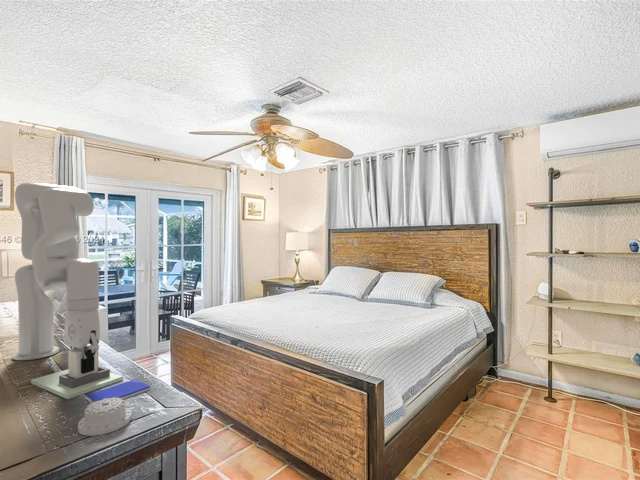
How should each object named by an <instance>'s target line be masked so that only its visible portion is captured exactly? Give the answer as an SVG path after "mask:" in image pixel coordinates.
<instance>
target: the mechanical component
mask: <svg viewBox="0 0 640 480" xmlns="http://www.w3.org/2000/svg"><path fill="white" fill-rule="evenodd" d="M132 416H133V415H132V410H131V409H130V408H129V407H126V400H124V399H122V398H119V397H117V398H115V397H113V398H109V399H106V398H105V399H103V400H100V401H95V402H94V403H91V402H90V404H88V405H87V407H86V408H85V409H84V417H82V418H81V419H80V420H79V421H78V422H77V432H78V433H79V434H80V435H81V436H82V435H83V436H87V437H88V436H89V437H94V436H100V435H102V436H103V435H106V434H109V433H112V432H114V431H117V430H120V429H121V428H123V427H125V426H127V425H128V424H129V423H130V422H131V420H132Z"/></svg>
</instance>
